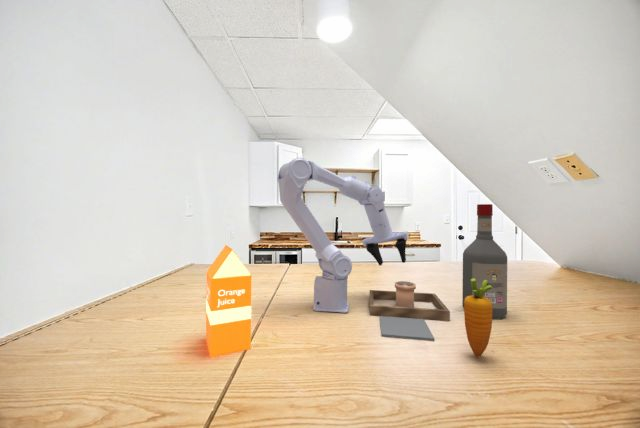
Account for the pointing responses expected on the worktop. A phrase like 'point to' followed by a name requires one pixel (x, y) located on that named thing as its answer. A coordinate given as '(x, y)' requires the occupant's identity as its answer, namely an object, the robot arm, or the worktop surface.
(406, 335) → the potting mat
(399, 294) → the terracotta pot
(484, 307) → the carrot
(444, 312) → the cold frame
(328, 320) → the worktop surface
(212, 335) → the orange juice
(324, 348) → the worktop surface
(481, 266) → the liquor
